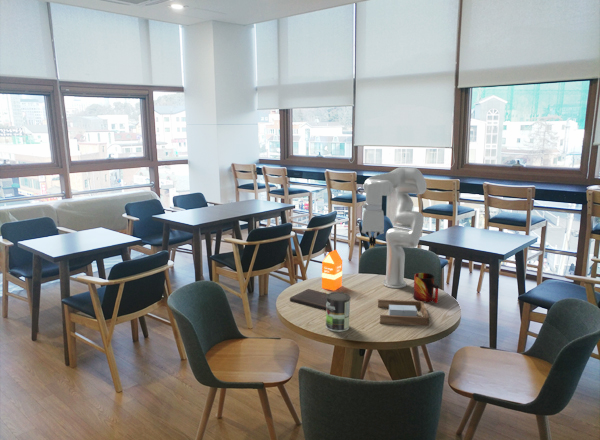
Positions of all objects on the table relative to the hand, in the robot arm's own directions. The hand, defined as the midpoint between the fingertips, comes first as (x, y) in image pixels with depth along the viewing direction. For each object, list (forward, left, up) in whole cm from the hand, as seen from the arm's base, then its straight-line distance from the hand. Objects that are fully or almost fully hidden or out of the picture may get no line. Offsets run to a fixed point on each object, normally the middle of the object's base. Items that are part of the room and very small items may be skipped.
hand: (372, 245), depth 226 cm
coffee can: (+31, -15, -29) cm, 45 cm away
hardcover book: (+2, -26, -30) cm, 40 cm away
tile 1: (+15, +11, -29) cm, 35 cm away
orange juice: (-20, -20, -29) cm, 41 cm away
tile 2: (+15, +17, -29) cm, 37 cm away
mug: (-7, +28, -29) cm, 42 cm away
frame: (+15, +14, -29) cm, 36 cm away
